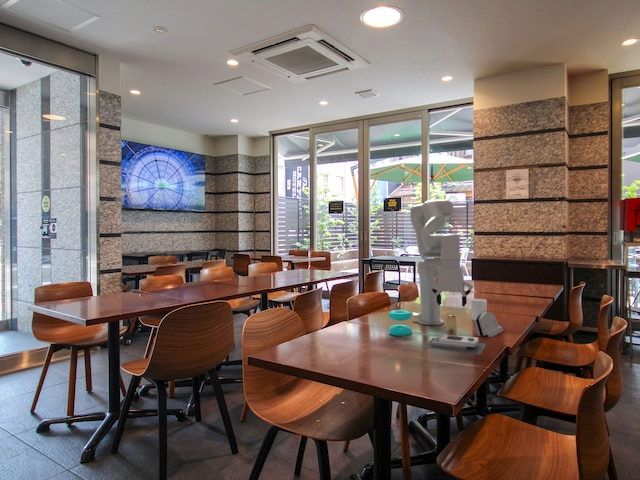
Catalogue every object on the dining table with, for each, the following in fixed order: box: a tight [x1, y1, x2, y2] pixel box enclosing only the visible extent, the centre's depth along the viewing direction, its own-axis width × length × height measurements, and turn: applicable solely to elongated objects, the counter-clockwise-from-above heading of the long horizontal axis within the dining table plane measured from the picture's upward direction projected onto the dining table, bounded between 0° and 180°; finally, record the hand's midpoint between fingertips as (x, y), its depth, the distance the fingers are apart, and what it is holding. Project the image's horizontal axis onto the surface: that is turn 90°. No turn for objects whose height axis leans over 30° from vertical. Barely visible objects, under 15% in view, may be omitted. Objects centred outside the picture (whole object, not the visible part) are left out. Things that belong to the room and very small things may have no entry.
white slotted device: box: [473, 311, 504, 338], centre depth 179 cm, size 17×5×10 cm, turn 137°
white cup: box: [469, 298, 488, 321], centre depth 206 cm, size 8×8×10 cm
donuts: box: [388, 309, 413, 337], centre depth 180 cm, size 10×10×10 cm
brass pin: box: [445, 314, 458, 336], centre depth 169 cm, size 4×4×10 cm
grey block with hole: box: [431, 333, 479, 350], centre depth 158 cm, size 16×9×4 cm, turn 60°
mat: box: [422, 337, 487, 356], centre depth 158 cm, size 21×16×1 cm
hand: (451, 305), depth 168 cm, fingers open, 9 cm apart
